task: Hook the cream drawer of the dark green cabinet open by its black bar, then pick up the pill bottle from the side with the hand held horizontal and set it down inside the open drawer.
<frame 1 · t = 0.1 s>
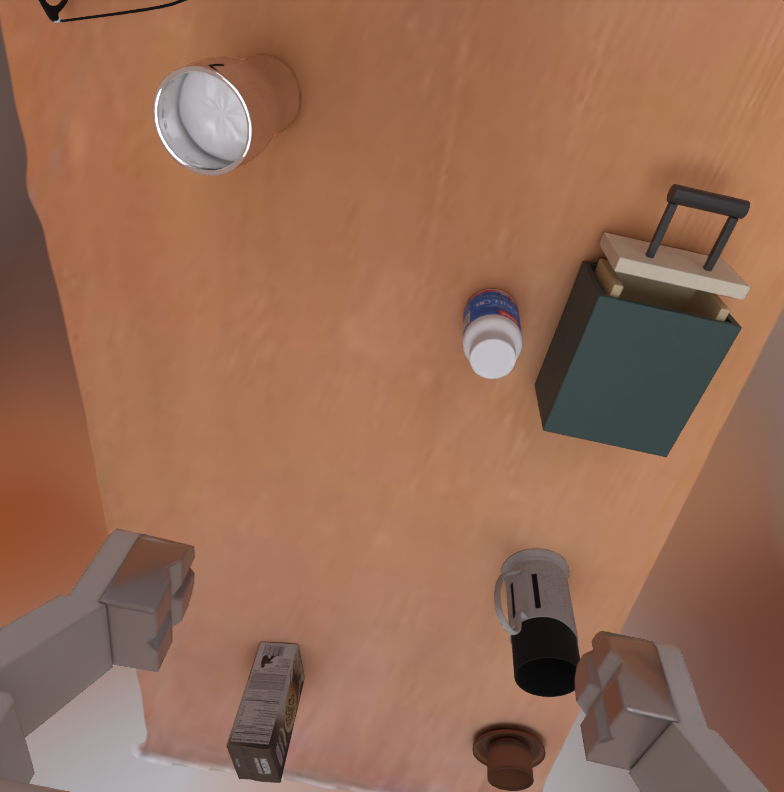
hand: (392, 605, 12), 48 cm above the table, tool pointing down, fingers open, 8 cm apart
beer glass: (266, 94, 51), on the table
coffee box: (283, 658, 96), on the table
cabinet: (615, 340, 60), on the table
drawer: (655, 297, 53), point 4 cm above the table, slide at 2.0 cm
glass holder: (523, 559, 79), on the table
brown round flanged piece: (508, 739, 103), on the table
pill bottle: (490, 311, 60), on the table
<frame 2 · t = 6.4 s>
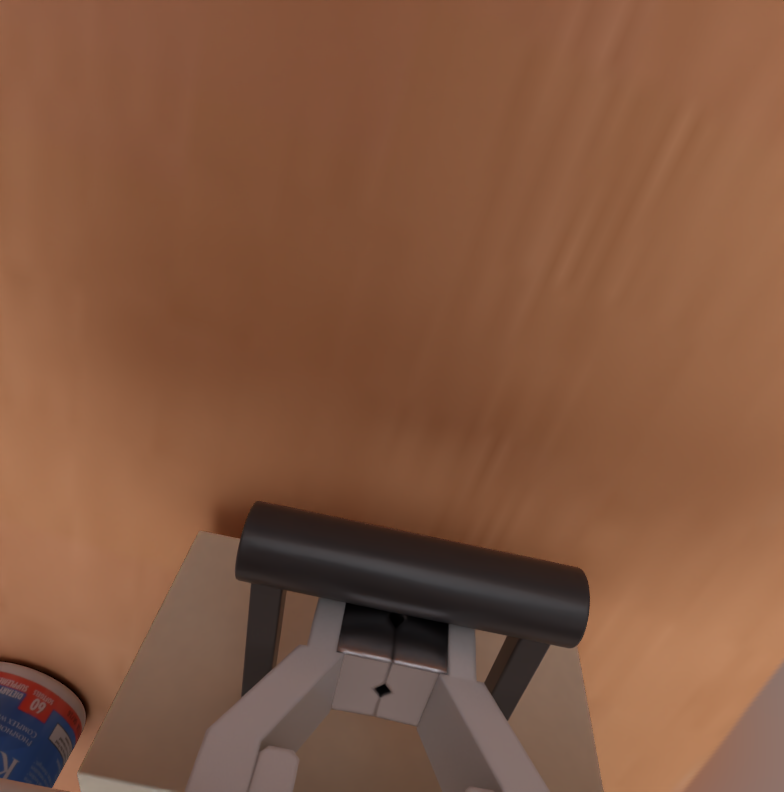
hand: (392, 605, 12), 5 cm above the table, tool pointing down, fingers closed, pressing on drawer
drawer: (349, 748, 17), point 4 cm above the table, slide at 4.7 cm, touching gripper
pill bottle: (28, 691, 25), on the table
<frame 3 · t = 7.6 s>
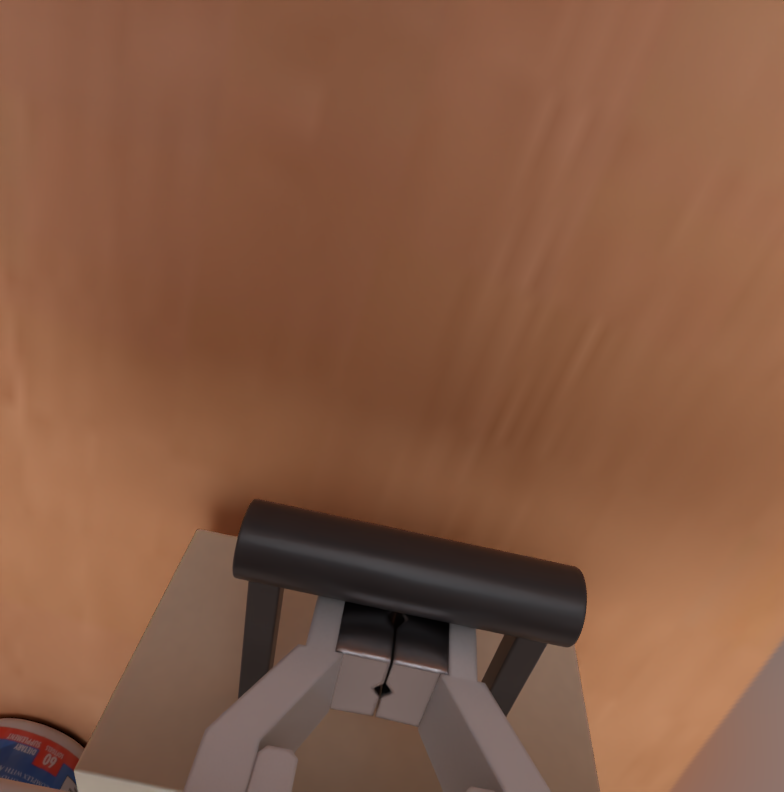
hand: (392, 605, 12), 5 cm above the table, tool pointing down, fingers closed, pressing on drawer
drawer: (346, 747, 17), point 4 cm above the table, slide at 9.2 cm, touching gripper
pill bottle: (39, 742, 27), on the table
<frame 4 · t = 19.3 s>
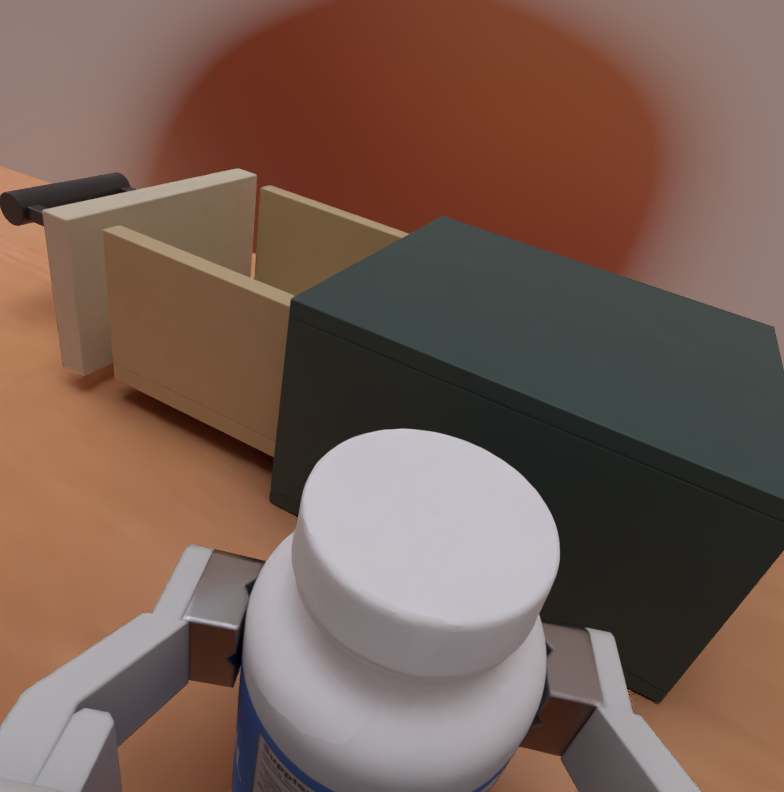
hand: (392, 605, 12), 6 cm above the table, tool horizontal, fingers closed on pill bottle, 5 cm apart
cabinet: (498, 490, 25), on the table
drawer: (223, 285, 26), point 4 cm above the table, slide at 9.6 cm
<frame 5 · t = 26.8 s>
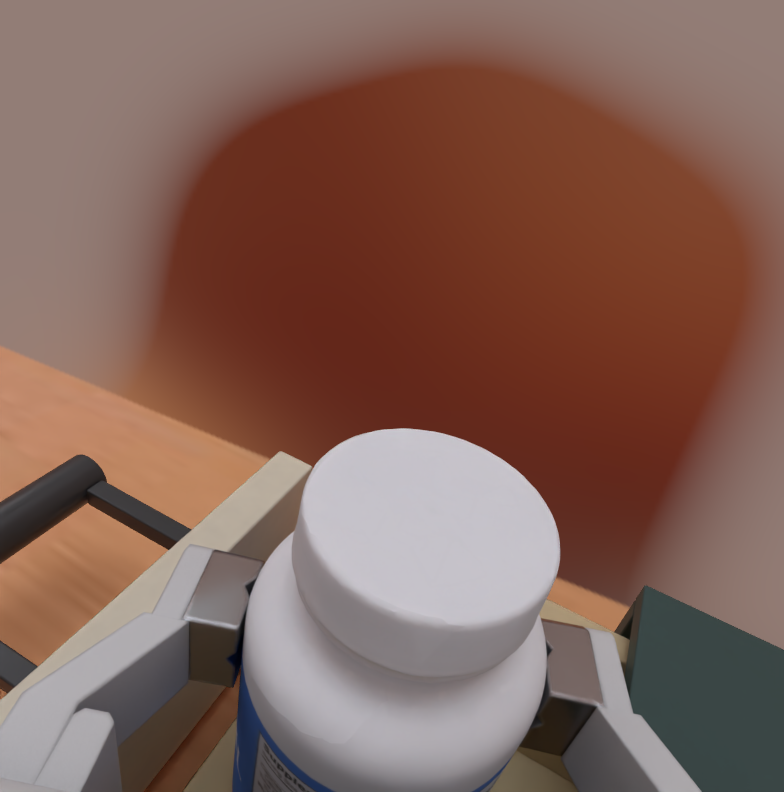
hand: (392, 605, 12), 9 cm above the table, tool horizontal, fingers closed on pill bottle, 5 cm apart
drawer: (266, 726, 15), point 4 cm above the table, slide at 9.6 cm
when the fingers open (11 cm above the table, at t = 41.8 s): pill bottle drops 3 cm, resting on drawer.
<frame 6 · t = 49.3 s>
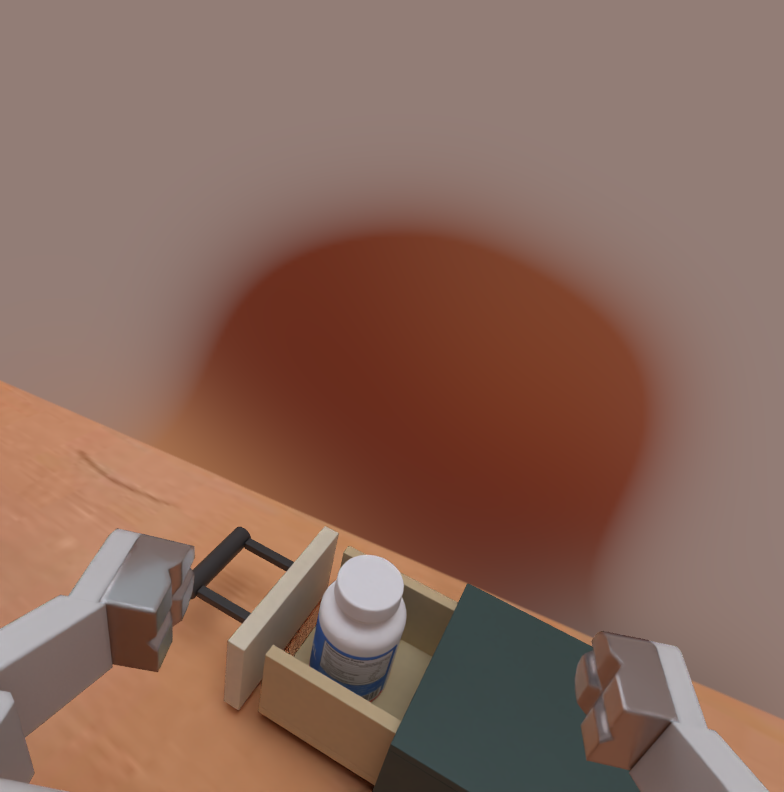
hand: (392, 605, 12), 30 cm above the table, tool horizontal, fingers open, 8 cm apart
cabinet: (504, 781, 39), on the table
drawer: (323, 634, 40), point 4 cm above the table, slide at 9.6 cm, touching pill bottle
pill bottle: (347, 673, 41), point 2 cm above the table, touching drawer
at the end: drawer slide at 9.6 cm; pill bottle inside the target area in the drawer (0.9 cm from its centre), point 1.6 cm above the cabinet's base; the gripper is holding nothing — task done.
